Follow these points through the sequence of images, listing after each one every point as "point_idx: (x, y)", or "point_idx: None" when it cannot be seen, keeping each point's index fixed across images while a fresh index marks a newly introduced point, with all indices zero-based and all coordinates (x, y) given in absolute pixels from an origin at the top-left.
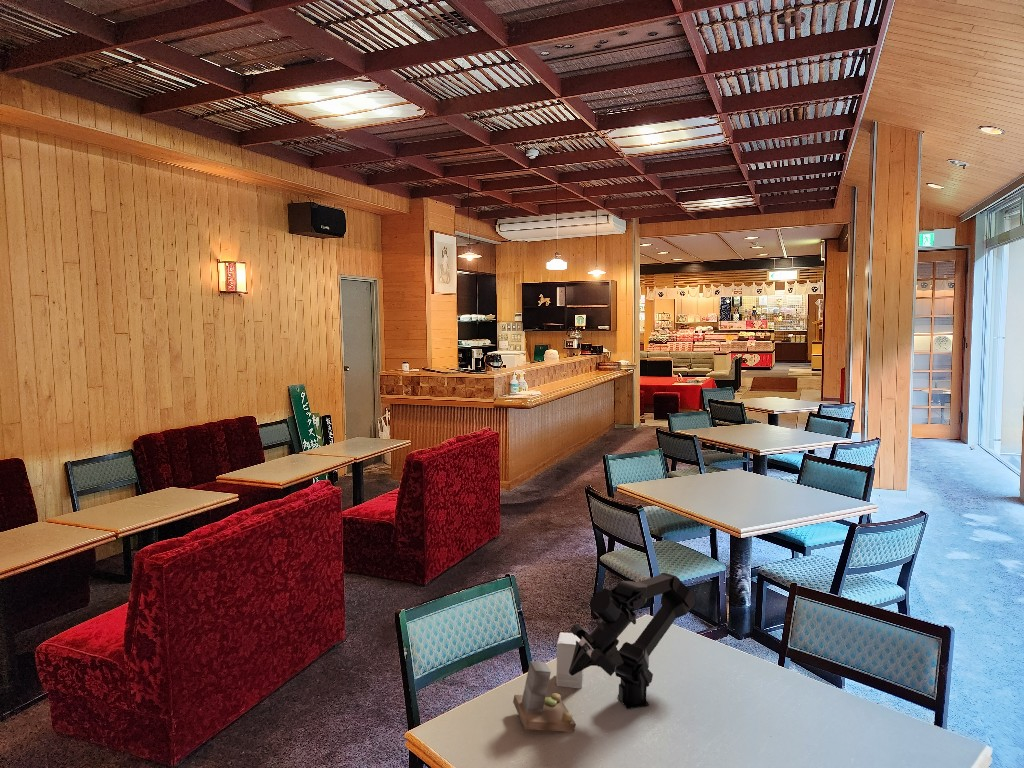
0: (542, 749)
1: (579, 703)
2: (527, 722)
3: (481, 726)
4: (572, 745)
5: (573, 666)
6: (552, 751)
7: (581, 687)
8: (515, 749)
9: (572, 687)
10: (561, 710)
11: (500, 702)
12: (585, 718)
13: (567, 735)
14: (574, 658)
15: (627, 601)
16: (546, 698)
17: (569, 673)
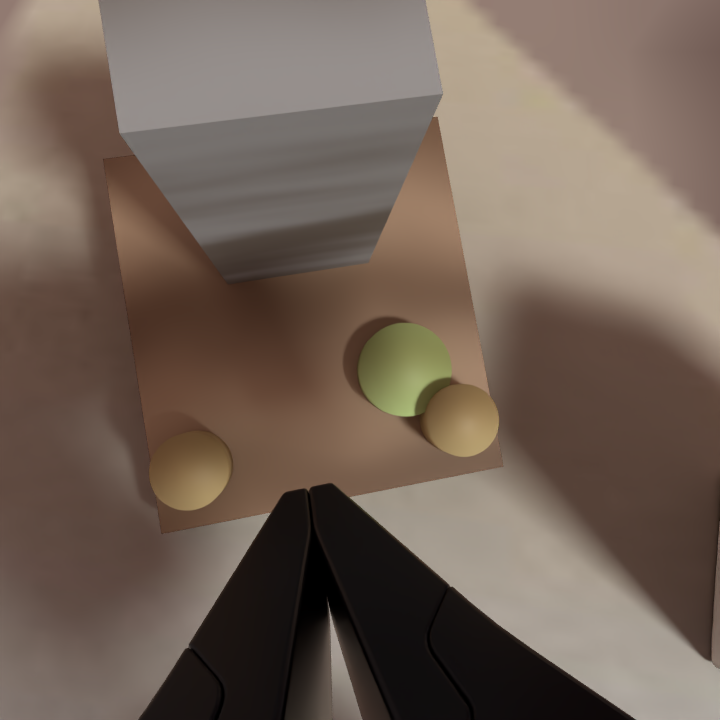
0: (35, 300)
1: (512, 614)
2: (107, 170)
3: None
4: (35, 486)
5: (251, 566)
6: (3, 354)
7: (716, 665)
8: (66, 164)
9: (715, 591)
10: (325, 446)
11: (511, 127)
12: None
13: (145, 469)
14: (356, 628)
15: None
16: (421, 338)
17: (295, 491)
